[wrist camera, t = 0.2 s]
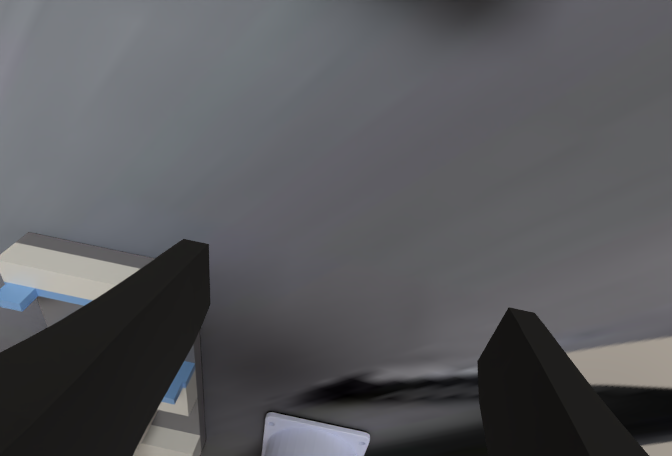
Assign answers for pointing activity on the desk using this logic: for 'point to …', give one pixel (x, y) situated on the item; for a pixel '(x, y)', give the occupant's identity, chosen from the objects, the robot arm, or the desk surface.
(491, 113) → the desk surface
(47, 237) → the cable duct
